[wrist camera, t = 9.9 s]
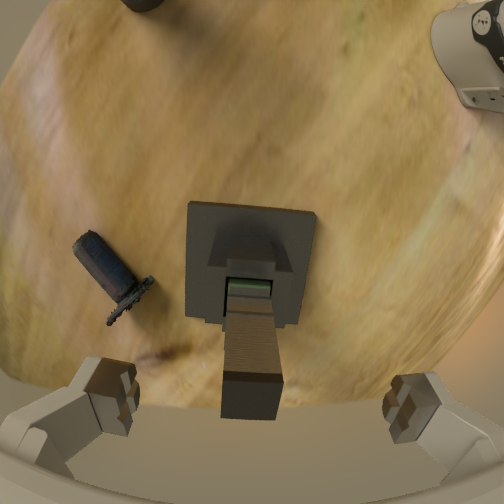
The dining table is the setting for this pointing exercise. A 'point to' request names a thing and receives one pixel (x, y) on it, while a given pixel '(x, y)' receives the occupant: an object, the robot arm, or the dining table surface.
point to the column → (250, 353)
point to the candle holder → (142, 4)
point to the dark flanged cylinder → (109, 273)
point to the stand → (246, 256)
